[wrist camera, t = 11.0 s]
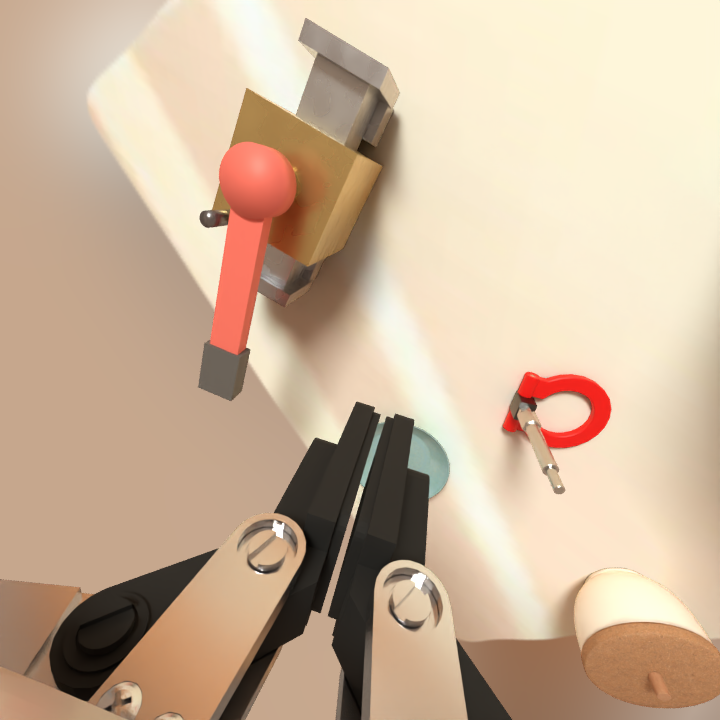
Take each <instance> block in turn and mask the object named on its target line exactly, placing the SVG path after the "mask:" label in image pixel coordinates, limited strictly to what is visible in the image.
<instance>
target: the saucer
mask: <svg viewBox="0 0 720 720" xmlns="http://www.w3.org/2000/svg"><path fill="white" fill-rule="evenodd" d="M384 423H385V422H383V423H378V425H377V428H376V432H375V435H374V438H373V442H372V445H371V448H370V452H369V455H368V458H367V462H366V465H365V468H364V471H363V475H362V478H361V481H360V484H361V485H362V486H363V487H365V484H366V480H367V477H368V474H369V471H370V468H371V464H372V461H373V458H374V455H375V452H376V449H377V445H378V442H379V439H380V436H381V433H382V429H383V426H384ZM408 468H410V469H413V470H416V471H419V472H422V473H425V474H428V475H429V477H430V484H429V498H431V497H433V496H434V495H436V494H437V493H439V492H440V491H441V490H442V488H443V487H444V486H445V484H446V482H447V480H448V477H449V472H450V467H449V460H448V457H447V454H446V452H445V450H444V449H443V447H442V446H441V444H440V443H439V442H438V441H437V440H436V439H435V438H434V437H433V436H431V435H430V434H429V433H427V432H426V431H424V430H422V429H420V428H418V427H416V426H413V433H412V440H411V447H410V454H409V461H408Z"/></svg>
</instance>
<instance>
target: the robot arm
mask: <svg viewBox="0 0 720 720" xmlns="http://www.w3.org/2000/svg"><path fill="white" fill-rule="evenodd" d="M374 409H375V407H372V406H369V405H366V404H363V403H360V402H356V404H355V406H354V408H353V411H352V413H351V415H350V417H349V420H348V422H347V424H346V426H345V429H344V431H343V433H342V436H341V438H340V440H339V442H338V445H337V444H334V443H331V442H328V441H325V440H322V439H319V438H315V439H314V441H313V442H312V444H311V446H310V448H309V449H308V451H307V453H306V455H305V457H304V459H303V460H302V462H301V464H300V466H299V468H298V470H297V471H296V473H295V475H294V477H293V479H292V481H291V482H290V484H289V486H288V488H287V490H286V492H285V493H284V495H283V497H282V499H281V501H280V503H279V504H278V506H277V508H276V510H275V512H274V513H263V514H258V515H255V516H253V517H251V518H249V519H246V520H245V521H244V522H243V523H241V524H240V525H239V526H238V527H237V528H236V529H235V530H234V532H233V533H232V534H231V535H230V536H229V537H228V539H227V540H226V541H225V542H224V543H223V544H222V546H221V547H220V548H218V549H215V550H213V551H210V552H207V553H204V554H201V555H199V556H196V557H193V558H190V559H187V560H185V561H182V562H179V563H176V564H174V565H171V566H168V567H165V568H162V569H160V570H157V571H154V572H151V573H148V574H146V575H143V576H140V577H137V578H134V579H132V580H129V581H126V582H123V583H120V584H118V585H115V586H112V587H109V588H107V589H104V590H102V591H100V592H98V593H96V594H87V593H81V589H80V587H71V586H61V585H52V584H41V583H32V582H22V581H12V580H2V579H0V720H245V719H246V717H247V716H248V714H249V712H250V710H251V707H252V706H253V704H254V702H255V700H256V698H257V696H258V694H259V692H260V690H261V688H262V686H263V684H264V683H265V680H266V679H267V677H268V675H269V673H270V671H271V669H272V667H273V665H274V663H275V661H276V659H277V657H278V655H279V653H280V651H281V649H282V646H283V645H284V644H285V643H287V642H289V641H291V640H293V639H294V638H296V637H298V636H300V635H301V634H303V632H304V628H305V626H306V625H307V623H308V620H309V616H310V613H311V610H313V611H316V612H318V613H321V610H322V606H323V603H324V600H325V596H326V593H327V590H328V587H329V583H330V580H331V577H332V574H333V570H334V567H335V564H336V560H337V557H338V554H339V551H340V547H341V544H342V540H343V537H344V534H345V531H346V527H347V524H348V521H349V518H350V514H351V511H352V508H353V505H354V501H355V498H356V495H357V491H358V488H359V485H360V481H361V478H362V475H363V471H364V468H365V465H366V462H367V458H368V455H369V452H370V448H371V445H372V442H373V438H374V435H375V432H376V428H377V425H378V422H379V419H380V415H381V414H377V413H374ZM413 426H414V419H410V418H407V417H404V416H401V415H398V414H395V416H394V419H393V418H390V417H386V420H385V423H384V426H383V429H382V433H381V436H380V439H379V442H378V445H377V449H376V452H375V455H374V458H373V461H372V464H371V468H370V471H369V474H368V477H367V480H366V484H365V487H364V490H363V493H362V497H361V500H360V504H359V507H358V511H357V514H356V518H355V522H354V525H353V529H352V532H351V536H350V539H349V543H348V547H347V550H346V554H345V557H344V561H343V564H342V568H341V571H340V575H339V578H338V582H337V585H336V589H335V592H334V596H333V599H332V603H331V606H330V610H329V614H328V616H329V617H331V618H334V619H336V623H335V627H334V631H333V634H332V635H333V636H334V638H333V643H332V647H333V649H334V651H335V653H336V656H337V658H338V660H339V662H340V664H341V667H342V668H341V673H340V679H339V689H338V699H337V709H336V720H512V719H511V717H510V716H509V715H508V713H507V712H506V710H505V709H504V707H503V706H502V704H501V703H500V701H499V700H498V699H497V697H496V696H495V694H494V693H493V691H492V690H491V688H490V687H489V685H488V684H487V683H486V681H485V680H484V678H483V677H482V675H481V674H480V672H479V671H478V669H477V668H476V667H475V665H474V664H473V662H472V661H471V659H470V658H469V656H468V655H467V654H466V652H465V651H464V649H463V648H462V646H461V645H460V643H459V642H458V640H457V639H456V637H455V630H454V623H453V617H452V610H451V604H450V601H449V597H448V594H447V592H446V590H445V588H444V586H443V585H442V583H441V581H440V580H439V579H438V578H437V577H436V576H435V575H434V573H433V572H432V571H430V570H429V569H427V568H426V567H425V552H426V535H427V518H428V501H429V484H430V477H429V475H428V474H425V473H422V472H419V471H416V470H413V469H410V468H408V461H409V454H410V447H411V440H412V433H413Z"/></svg>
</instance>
